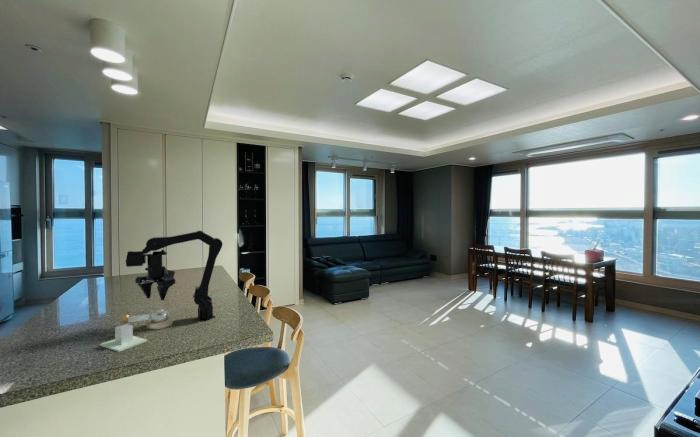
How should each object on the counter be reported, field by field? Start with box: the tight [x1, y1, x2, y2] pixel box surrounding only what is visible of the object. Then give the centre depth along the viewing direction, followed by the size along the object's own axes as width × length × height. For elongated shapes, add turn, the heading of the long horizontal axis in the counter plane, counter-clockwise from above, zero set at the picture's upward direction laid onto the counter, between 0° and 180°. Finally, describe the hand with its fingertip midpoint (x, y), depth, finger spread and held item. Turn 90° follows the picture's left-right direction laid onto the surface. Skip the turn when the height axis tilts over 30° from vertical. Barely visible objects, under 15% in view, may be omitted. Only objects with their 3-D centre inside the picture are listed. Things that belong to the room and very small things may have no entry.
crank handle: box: [121, 308, 170, 324], centre depth 130 cm, size 17×7×5 cm, turn 119°
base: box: [146, 316, 174, 330], centre depth 132 cm, size 10×10×2 cm
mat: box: [99, 335, 148, 353], centre depth 113 cm, size 12×10×1 cm
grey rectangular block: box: [114, 323, 134, 345], centre depth 113 cm, size 4×4×6 cm
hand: (155, 299), depth 133 cm, fingers open, 9 cm apart
